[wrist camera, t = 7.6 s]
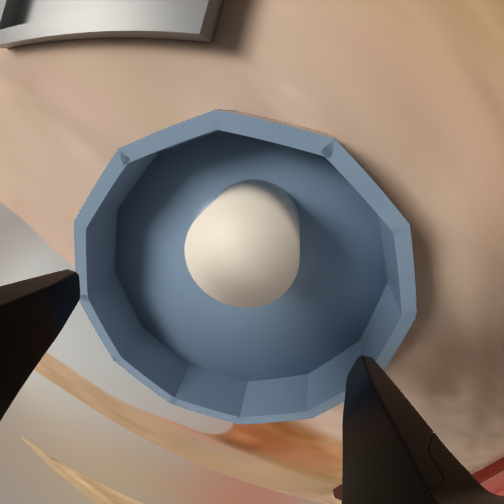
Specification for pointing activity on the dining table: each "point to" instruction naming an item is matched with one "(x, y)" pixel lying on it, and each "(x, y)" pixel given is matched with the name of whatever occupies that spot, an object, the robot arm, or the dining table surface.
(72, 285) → the robot arm
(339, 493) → the ice cream bowl
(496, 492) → the plant saucer
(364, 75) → the dining table surface
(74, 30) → the parts tray
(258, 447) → the dining table surface
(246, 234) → the pebble sand
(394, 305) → the glazed bowl
